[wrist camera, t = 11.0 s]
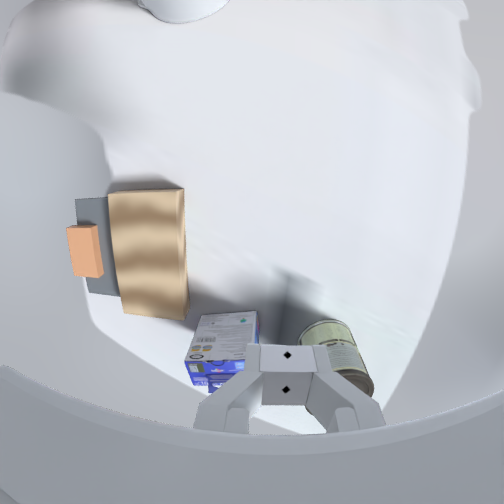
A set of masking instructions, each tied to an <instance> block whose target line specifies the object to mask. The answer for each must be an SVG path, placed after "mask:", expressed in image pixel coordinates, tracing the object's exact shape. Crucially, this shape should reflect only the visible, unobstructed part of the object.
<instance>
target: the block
mask: <svg viewBox="0 0 504 504" xmlns="http://www.w3.org/2000/svg"><path fill="white" fill-rule="evenodd" d="M66 231H67V238H68V244H69V250H70V256H71V261H72V266H73V271H74V275H75V276H83V277H93V278H99V277H101V276H102V275H103V274H104V270H103V264H102V258H101V252H100V245H99V237H98V229H97V225H72V226H70V227H68V228H66Z"/></svg>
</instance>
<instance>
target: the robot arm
mask: <svg viewBox="0 0 504 504" xmlns="http://www.w3.org/2000/svg"><path fill="white" fill-rule="evenodd" d="M228 1H229V0H138V1H137V3H138V5H139V6H140V7H142V8H145V9H148V10H150V11H151V12H152V14H153V15H154V16H155V17H156V18H158V19H160V20H162V21H164V22H169V23H186V22H192V21H196V20H199V19H202V18H205V17H207V16H209V15H211V14H213V13H215V12H216V11H218V10H219V9H221V8H222V7H223V6H224V5H225V4H226V3H227V2H228ZM261 405H306V407H307V409H308V410H309V411H310V412H311V413H312V414H313V416H314V417H315V418H316V419H317V420H318V421H319V422H320V424H321V425H322V426H323V427H324V428H325V429H326V430H327V432H326V433H325V434H307V435H257V434H256V435H255V434H248V433H249V432H248V430H249V420H250V419H251V418H252V417H253V415H254V414H255V413H256V412H257V411H258V409H259V408H260V407H261ZM0 504H504V389H503V390H501V391H498V392H496V393H494V394H491V395H489V396H486V397H484V398H482V399H479V400H477V401H474V402H471V403H468V404H466V405H463V406H460V407H457V408H454V409H451V410H448V411H445V412H441V413H438V414H435V415H431V416H427V417H423V418H419V419H415V420H411V421H407V422H403V423H398V424H393V425H387V426H386V423H385V420H384V417H383V414H382V412H381V409H380V406H379V403H378V402H376V401H375V400H373V399H372V398H371V397H369V396H368V395H367V394H365V393H364V392H363V391H361V390H360V389H358V388H357V387H356V386H354V385H353V384H352V383H350V382H349V381H348V380H346V379H345V378H344V377H342V376H341V375H340V374H339V373H337V372H332V368H331V364H330V361H329V357H328V354H327V350H326V346H325V345H272V344H261V347H260V344H253V343H247V346H246V355H245V363H244V371H239V372H238V373H237V374H235V375H234V376H233V377H232V378H231V379H229V380H228V381H227V382H226V383H224V384H223V385H222V386H221V387H220V388H218V389H217V390H216V391H215V392H213V393H212V394H211V395H209V396H208V397H207V398H206V399H204V400H203V401H202V402H201V403H199V407H198V411H197V414H196V418H195V422H194V426H193V428H187V427H181V426H175V425H171V424H165V423H160V422H156V421H151V420H147V419H143V418H139V417H135V416H131V415H127V414H124V413H120V412H117V411H113V410H110V409H107V408H103V407H100V406H97V405H94V404H91V403H89V402H86V401H83V400H80V399H77V398H75V397H72V396H70V395H67V394H65V393H62V392H60V391H58V390H55V389H53V388H51V387H48V386H46V385H44V384H42V383H40V382H37V381H35V380H33V379H31V378H29V377H27V376H25V375H23V374H21V373H20V372H18V371H16V370H14V369H13V368H11V367H9V366H5V365H2V366H0Z"/></svg>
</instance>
